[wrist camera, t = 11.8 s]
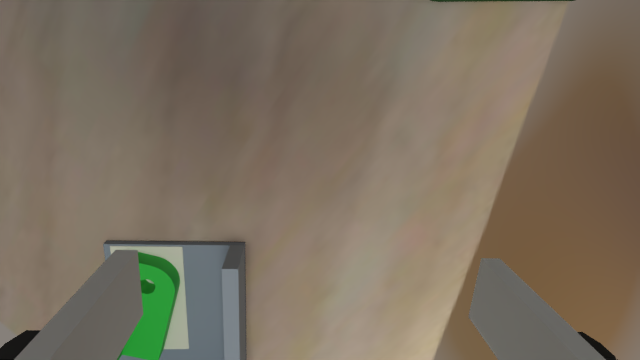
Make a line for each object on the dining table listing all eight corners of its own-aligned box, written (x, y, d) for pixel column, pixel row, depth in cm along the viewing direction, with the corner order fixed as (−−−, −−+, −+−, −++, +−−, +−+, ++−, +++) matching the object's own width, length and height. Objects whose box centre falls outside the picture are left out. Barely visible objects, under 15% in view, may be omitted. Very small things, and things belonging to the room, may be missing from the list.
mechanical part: (163, 348, 45) (137, 407, 37) (111, 338, 44) (73, 396, 36) (185, 262, 42) (161, 307, 34) (129, 249, 41) (92, 292, 33)
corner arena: (106, 240, 41) (78, 268, 35) (245, 242, 42) (238, 269, 37) (123, 372, 46) (101, 414, 41) (246, 370, 48) (240, 410, 42)
